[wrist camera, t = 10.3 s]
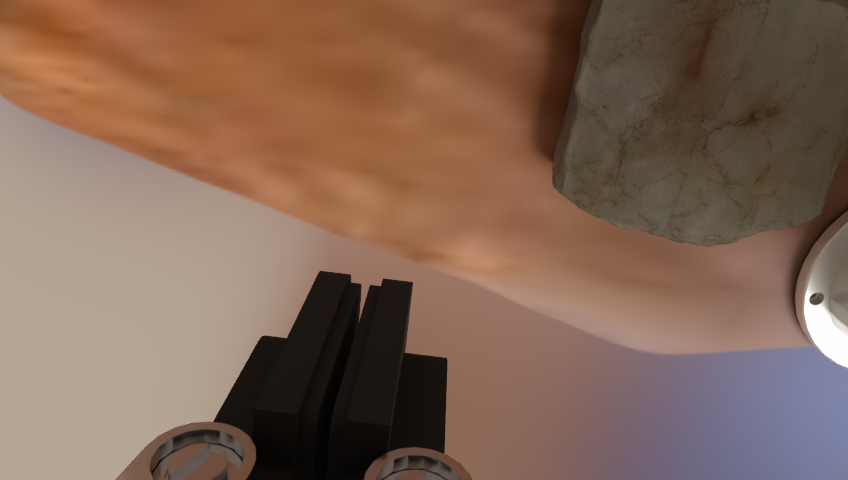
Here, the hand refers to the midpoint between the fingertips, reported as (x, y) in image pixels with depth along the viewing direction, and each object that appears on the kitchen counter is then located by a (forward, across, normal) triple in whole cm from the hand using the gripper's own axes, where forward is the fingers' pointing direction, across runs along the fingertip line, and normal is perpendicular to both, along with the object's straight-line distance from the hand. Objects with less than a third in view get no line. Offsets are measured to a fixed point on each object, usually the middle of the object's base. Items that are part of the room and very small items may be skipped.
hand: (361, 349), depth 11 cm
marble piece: (+27, -15, -3) cm, 30 cm away
